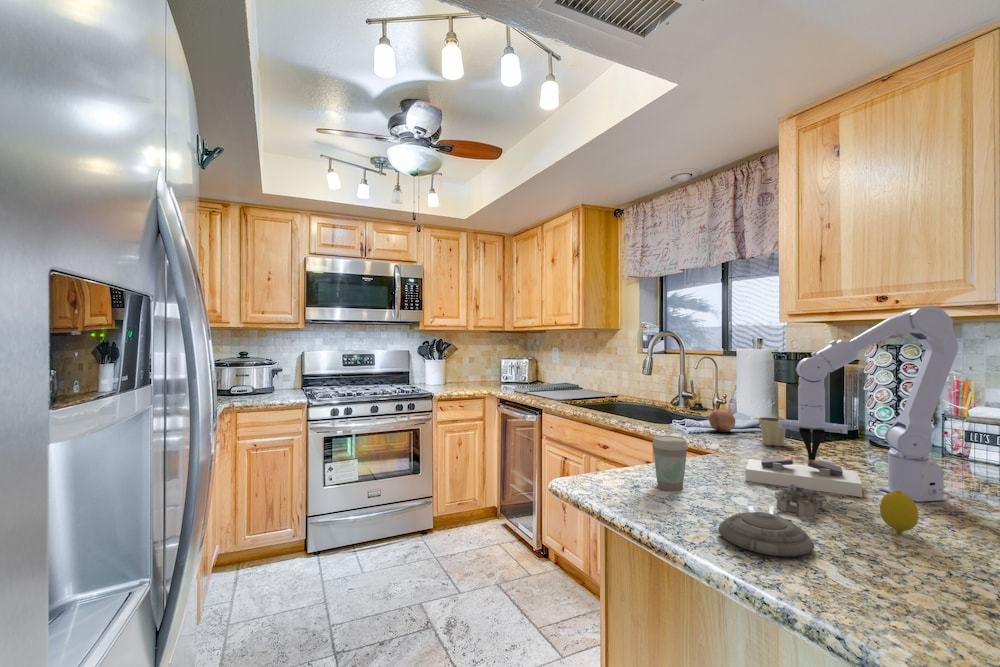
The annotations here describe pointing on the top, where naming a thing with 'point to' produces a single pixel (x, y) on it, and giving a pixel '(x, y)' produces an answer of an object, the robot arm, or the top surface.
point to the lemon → (899, 511)
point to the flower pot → (772, 431)
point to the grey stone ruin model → (799, 500)
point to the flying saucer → (766, 534)
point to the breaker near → (825, 467)
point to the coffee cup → (670, 461)
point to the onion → (722, 420)
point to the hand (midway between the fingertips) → (811, 459)
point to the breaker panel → (804, 477)
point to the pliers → (828, 461)
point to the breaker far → (777, 461)
